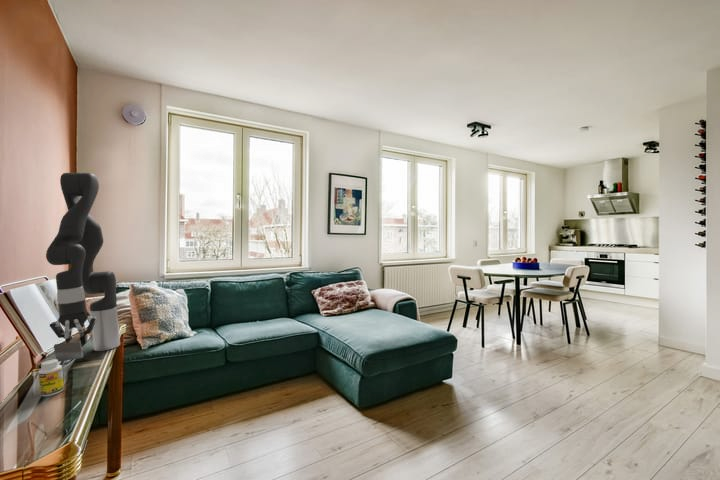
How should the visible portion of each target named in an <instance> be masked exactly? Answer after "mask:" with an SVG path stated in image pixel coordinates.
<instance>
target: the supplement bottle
mask: <svg viewBox="0 0 720 480" xmlns="http://www.w3.org/2000/svg"><path fill="white" fill-rule="evenodd" d="M40 367H41V368H40V369H39V370H38V380H39V382H38V383H39V391H40V396H41V397H51V396H54V395H57V394H60V393H61V392H62V391H63V390H64V388H65V386H64V384H65V383H64V375H63V374H64V373H63V366H62V364H59V362H58V360H57V359H56V358H53V359H49V360H46V361H42V362H41V363H40ZM63 392H64V391H63Z"/></svg>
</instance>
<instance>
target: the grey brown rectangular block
mask: <svg viewBox="0 0 720 480" xmlns="http://www.w3.org/2000/svg"><path fill="white" fill-rule="evenodd" d="M86 338H87V343H88V341H89V339H88V334H86ZM85 346H86V344H85V345H84V346H82V345H81V341H80V334H79V331H77V332H76V333H75V334H73V336H72V339H71V340H70V341H69V342H67V343H66V342H62V343H55V344H54V345H53V349H54V354H55V359H57V360H58V363H59V362H66V361H72V360H78V359H83V358H84V351H83V349H84V347H85Z"/></svg>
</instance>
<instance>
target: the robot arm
mask: <svg viewBox="0 0 720 480" xmlns="http://www.w3.org/2000/svg"><path fill="white" fill-rule="evenodd" d="M59 181H60V188H61V191H62V194H63V195H62V196H63V198H64V201H65V203H66V207H67V211H66V213H65V214H64V215H63V216H62V218H61V221H60V224H59V227H58V228H59V229H58V232H57V234H56V235H55V237H54V238H53V240H52V242H51V243H50V245H49V246H48V248H47V250H46V253H45V257H46V261H47V262H48V263H49V264H50V265H52V266H63V265H64V266H65V265H71V266H70V268H69V269H67V270H64V271H60V272H58V273H56V275H55V283H56V289H57V290H56V291H57V292H56V297H57V298H56V302H57V308H58V314H59V315H58V316H59V317H58V318H57V320H55V321H53V322H51V323H49V327H50V328H51V330H52V331H53V332H54V335H56V336H57V338H58V339H61V338H63V339H65V343H67V342H69V341H70V340H71V339H72V338H73V336H72V333H73V332H72V331H73V329H77V332H79V334H80V341H81V345H82V346H84V345H85V346H86V344H87V343H88V342H87V338H88V337H87V338H86V334H87V335H89V334H90V333H92V342H93V343H92V344H93V350H94V351H95V352H103V351H104V352H105V351H108V350H109V351H110V350H112V349H115V348H118V347H119V346H121V337H120V325H119V316H118V314H119V313H118V307H117V306H118V304H117V300H118V299H117V282H116V280H117V278H116V275H115V272H113V271H111V270H108V271H107V270H106V271H96V272H94V261H95V259H96V257H97V256H98V253H99V252H100V250H101V248H102V247H103V245H104V237H103V232H102V228H101V225H100V223H98V222H97V221H96V219H94V217H93V216H92V215H91V214H90V211H91V209H92V207H93V205H94V203H95V201H96V198H97V195H98V193H99V189H100V188H99V187H100V186H99V185H100V184H99V180H98V178H97V176H96V174H94V173H91V172H64V173H62V174H61V175H60V179H59ZM79 197H81V198H79ZM85 293H86V294H87V295H96V294H104V296H103V297H102V298H101V299H99V300H96V301H93V302H92V303H90V305H89V310H90V311H89V312H90V315H89V314H88V312H87V303H86V295H85ZM86 321H87V322H88V323H89V324H88V326H87V328H86V325H85V323H86ZM61 325H62V326H63V327H64V330H63V329H62V328H61ZM85 346H84V347H85Z"/></svg>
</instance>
